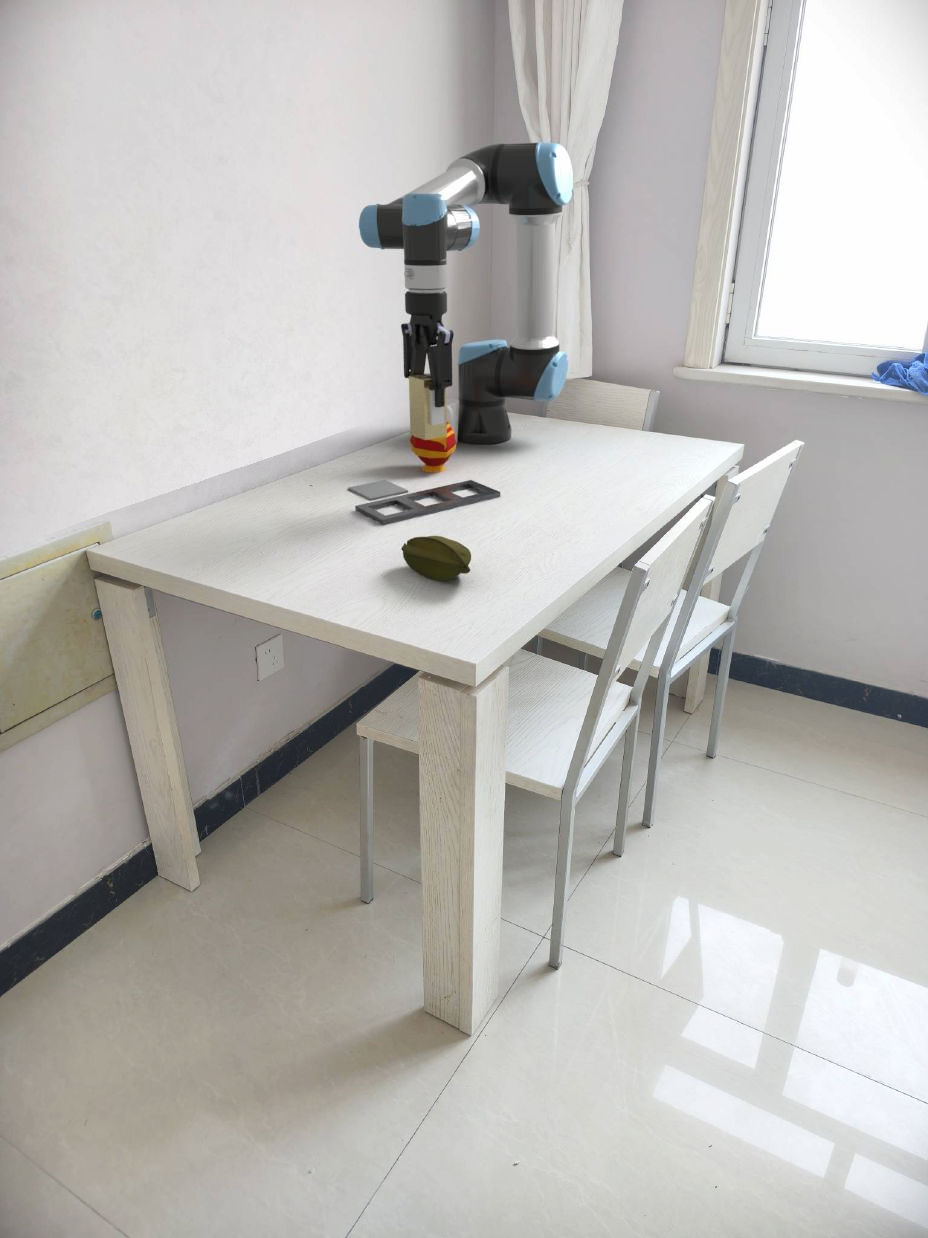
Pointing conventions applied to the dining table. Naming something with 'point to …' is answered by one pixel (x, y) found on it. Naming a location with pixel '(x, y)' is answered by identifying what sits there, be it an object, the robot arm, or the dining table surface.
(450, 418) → the mug
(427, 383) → the brass block with knob
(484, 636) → the dining table surface
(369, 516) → the grey triple frame
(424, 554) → the fruit
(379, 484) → the pad
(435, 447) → the potion bottle
